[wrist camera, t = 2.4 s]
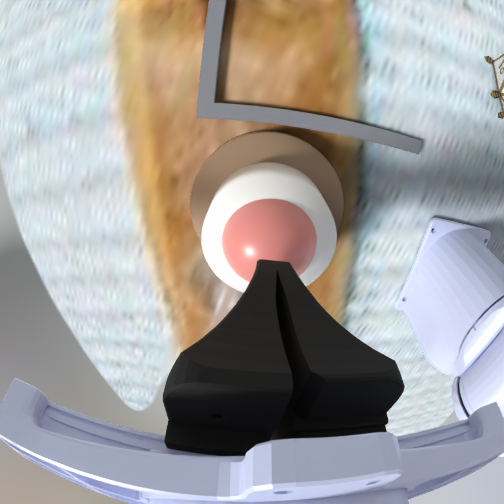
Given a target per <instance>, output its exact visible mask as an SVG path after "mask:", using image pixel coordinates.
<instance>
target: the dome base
mask: <svg viewBox="0 0 504 504" xmlns="http://www.w3.org/2000/svg"><path fill="white" fill-rule="evenodd" d="M265 162H271V163H280V164H284V165H287V166H290V167H293V168H295V169H297V170H299V171H300V172H302V173H303V174H305V175H306V176H307V177H308V178H309V179H311V180H312V182H313V183H314V184H315V185H316V187H317V188H318V190H319V191H320V193H321V195H322V197H323V199H324V200H325V202H326V204H327V206H328V208H329V209H330V211H331V213H332V216H333V218H334V221H335V225H336V232H338V230H339V228H340V225H341V222H342V217H343V212H344V198H343V191H342V187H341V183H340V181H339V178H338V176H337V174H336V172H335V170H334V169H333V167H332V166H331V164H330V163H329V162H328V161H327V159H326V158H325V157H324V156H323V155H322V154H321V153H320V152H319V151H318V150H317V149H316V148H315V147H313V146H312V145H311V144H309V143H308V142H306V141H305V140H303V139H301V138H299V137H297V136H294V135H291V134H288V133H284V132H279V131H269V130H264V131H254V132H250V133H245V134H242V135H240V136H237V137H235V138H233V139H231V140H229V141H227V142H226V143H224V144H223V145H222V146H220V147H219V148H218V149H217V150H216V151H215V152H214V153H213V154H212V155H211V156H210V157H209V158H208V160H207V161H206V162H205V164H204V165H203V166H202V168H201V169H200V171H199V173H198V175H197V177H196V179H195V182H194V184H193V188H192V192H191V199H190V212H191V218H192V223H193V225H194V228H195V231H196V233H197V235H198V237H199V239H200V240H201V235H202V227H203V223H204V220H205V217H206V215H207V212H208V210H209V207H210V205H211V203H212V200H213V198H214V195H215V193H216V191H217V190H218V188H219V186H220V185H221V184H222V183H223V182H224V180H226V179H227V178H228V177H229V176H230V175H231V174H233V173H234V172H236V171H237V170H239V169H241V168H243V167H246V166H249V165H252V164H257V163H265ZM201 242H202V240H201Z"/></svg>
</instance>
